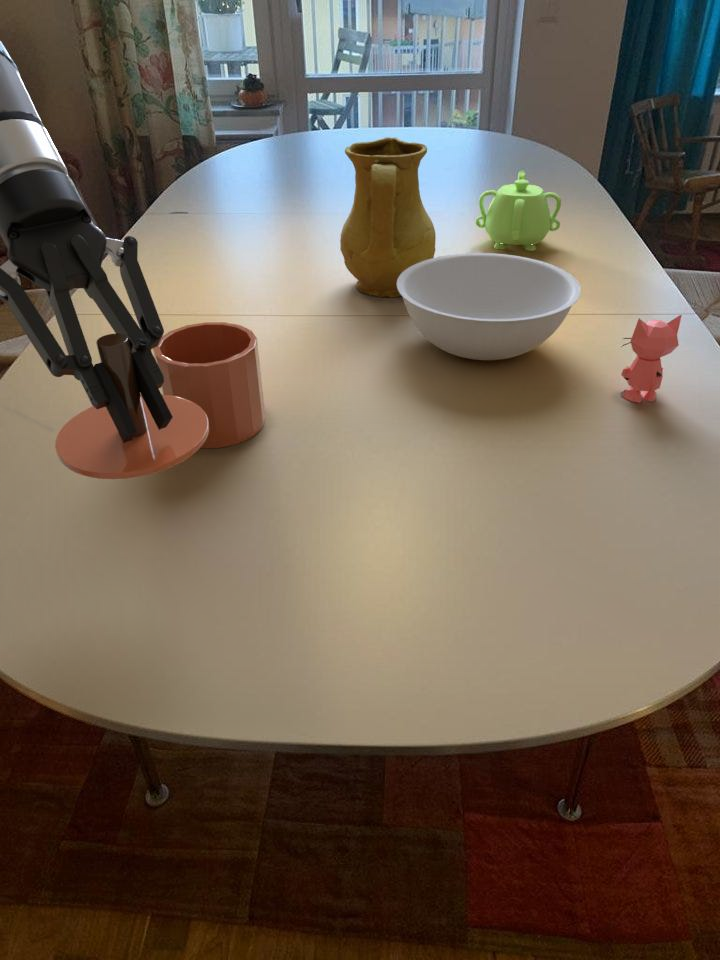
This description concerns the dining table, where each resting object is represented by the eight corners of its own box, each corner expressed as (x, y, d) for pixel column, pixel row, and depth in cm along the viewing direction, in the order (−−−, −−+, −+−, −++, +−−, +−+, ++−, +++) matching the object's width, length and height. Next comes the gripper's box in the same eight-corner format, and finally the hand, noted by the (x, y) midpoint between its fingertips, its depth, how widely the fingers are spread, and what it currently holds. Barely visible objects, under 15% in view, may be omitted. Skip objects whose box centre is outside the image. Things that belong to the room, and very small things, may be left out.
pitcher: (453, 277, 138) (454, 134, 123) (399, 315, 127) (392, 163, 112) (379, 262, 147) (371, 127, 132) (321, 297, 136) (305, 154, 120)
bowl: (565, 396, 102) (577, 330, 96) (376, 374, 108) (376, 310, 103) (574, 318, 123) (584, 260, 118) (415, 303, 130) (417, 247, 124)
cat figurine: (653, 383, 105) (672, 303, 98) (677, 407, 99) (700, 324, 92) (606, 388, 104) (622, 307, 97) (628, 412, 99) (647, 329, 92)
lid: (35, 485, 62) (-2, 378, 56) (86, 404, 73) (60, 308, 67) (193, 485, 62) (173, 377, 56) (221, 404, 73) (207, 307, 67)
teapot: (463, 237, 159) (467, 176, 152) (516, 226, 164) (522, 167, 157) (509, 259, 147) (515, 194, 140) (564, 247, 153) (573, 183, 145)
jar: (159, 448, 93) (142, 366, 86) (180, 399, 103) (166, 322, 97) (258, 448, 93) (248, 365, 86) (269, 398, 103) (262, 321, 96)
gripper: (108, 200, 71) (216, 414, 71) (-64, 234, 64) (55, 475, 63) (119, 150, 65) (238, 385, 64) (-70, 181, 57) (62, 449, 56)
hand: (148, 429), depth 63 cm, fingers closed on lid, 3 cm apart
